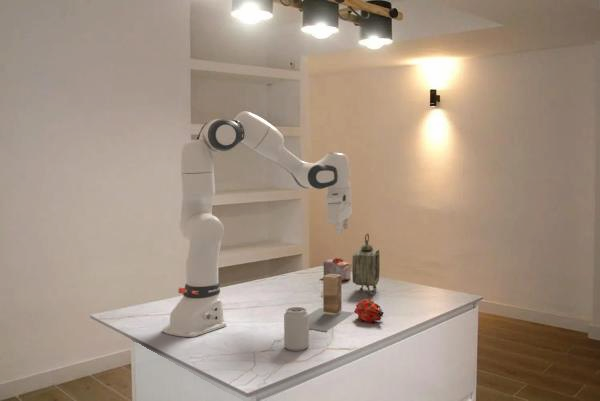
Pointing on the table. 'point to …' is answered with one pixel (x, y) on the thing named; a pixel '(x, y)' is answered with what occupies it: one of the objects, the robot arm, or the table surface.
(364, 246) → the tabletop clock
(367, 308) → the dragon fruit
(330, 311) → the light brown wooden block
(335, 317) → the rubber mat
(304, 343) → the can
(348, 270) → the food item
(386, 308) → the table surface
